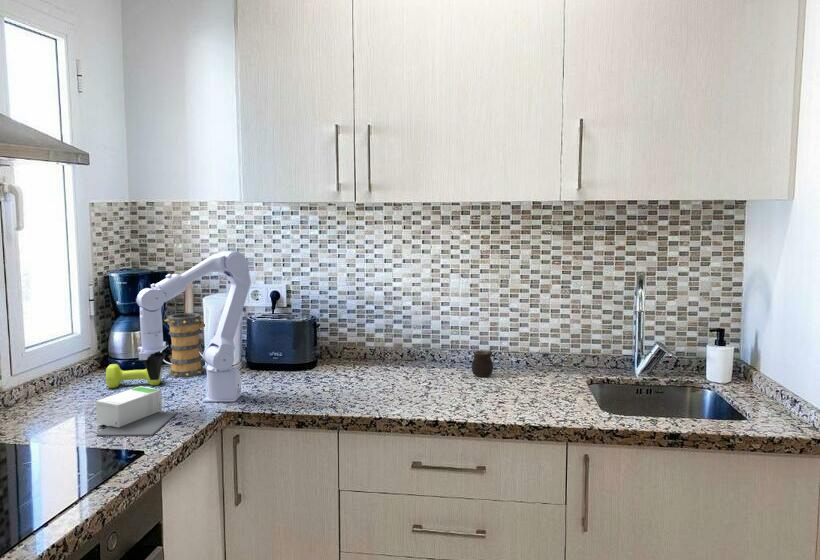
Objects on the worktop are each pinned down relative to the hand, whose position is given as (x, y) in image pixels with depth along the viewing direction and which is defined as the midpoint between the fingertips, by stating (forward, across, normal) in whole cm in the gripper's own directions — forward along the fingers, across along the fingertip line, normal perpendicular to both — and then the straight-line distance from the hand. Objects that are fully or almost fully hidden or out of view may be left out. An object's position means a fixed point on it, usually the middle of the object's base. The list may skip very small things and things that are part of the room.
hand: (154, 379), depth 194 cm
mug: (+9, -41, -3) cm, 42 cm away
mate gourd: (+9, -35, +95) cm, 102 cm away
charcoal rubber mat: (+9, +12, 0) cm, 15 cm away
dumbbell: (+9, -26, -17) cm, 32 cm away
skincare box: (+6, 0, -1) cm, 6 cm away
